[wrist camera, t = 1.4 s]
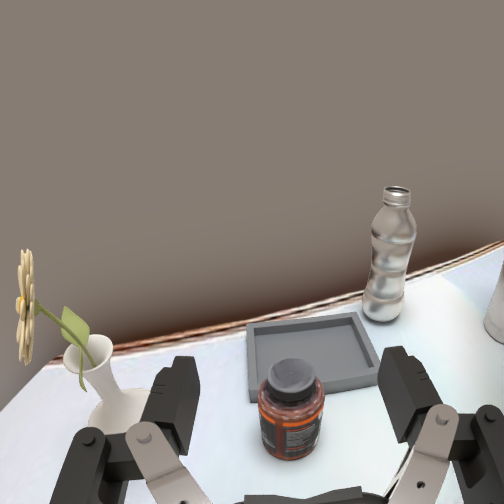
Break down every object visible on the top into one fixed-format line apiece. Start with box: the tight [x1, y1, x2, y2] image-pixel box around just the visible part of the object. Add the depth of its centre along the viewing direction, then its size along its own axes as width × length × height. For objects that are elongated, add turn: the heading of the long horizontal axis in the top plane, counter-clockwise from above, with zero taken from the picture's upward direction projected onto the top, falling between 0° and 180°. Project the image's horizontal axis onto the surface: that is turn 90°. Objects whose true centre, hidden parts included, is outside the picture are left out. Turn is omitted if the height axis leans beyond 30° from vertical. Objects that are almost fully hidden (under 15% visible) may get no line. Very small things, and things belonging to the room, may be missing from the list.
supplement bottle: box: [258, 357, 325, 460], centre depth 26 cm, size 6×6×11 cm
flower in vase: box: [16, 249, 151, 435], centre depth 23 cm, size 13×11×25 cm
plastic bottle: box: [362, 186, 417, 322], centre depth 41 cm, size 6×7×20 cm
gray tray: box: [246, 312, 381, 403], centre depth 38 cm, size 16×12×2 cm
